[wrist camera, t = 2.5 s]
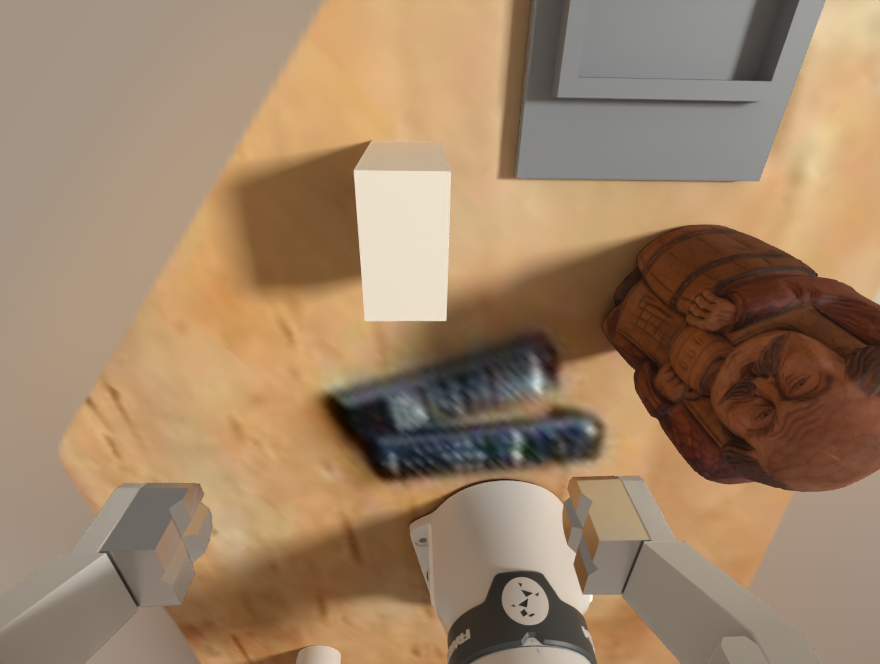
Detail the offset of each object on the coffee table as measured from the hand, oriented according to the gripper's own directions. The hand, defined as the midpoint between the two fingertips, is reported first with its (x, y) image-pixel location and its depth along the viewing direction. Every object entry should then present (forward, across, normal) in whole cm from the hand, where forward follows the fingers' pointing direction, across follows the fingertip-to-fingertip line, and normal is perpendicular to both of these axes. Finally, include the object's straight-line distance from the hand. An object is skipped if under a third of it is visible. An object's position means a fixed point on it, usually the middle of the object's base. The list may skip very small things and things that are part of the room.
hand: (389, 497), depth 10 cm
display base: (+24, +15, +10) cm, 30 cm away
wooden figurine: (+24, +19, -6) cm, 31 cm away
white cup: (+24, -13, -61) cm, 67 cm away
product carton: (+24, 0, 0) cm, 24 cm away
